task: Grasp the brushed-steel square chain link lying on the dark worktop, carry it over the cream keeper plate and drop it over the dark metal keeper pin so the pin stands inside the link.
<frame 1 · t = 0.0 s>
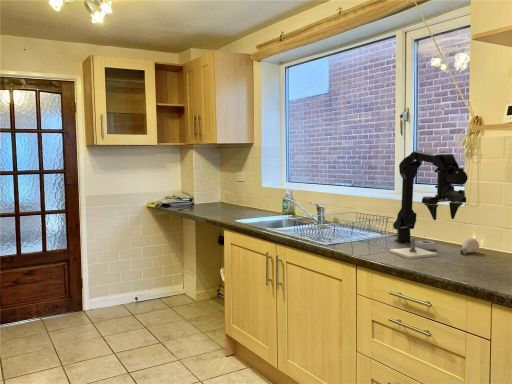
hand: (443, 219, 199), 15 cm above the countertop, fingers open, 9 cm apart
keeper plate: (412, 253, 200), on the countertop
light bulb: (467, 253, 200), on the countertop
link: (425, 248, 210), on the countertop
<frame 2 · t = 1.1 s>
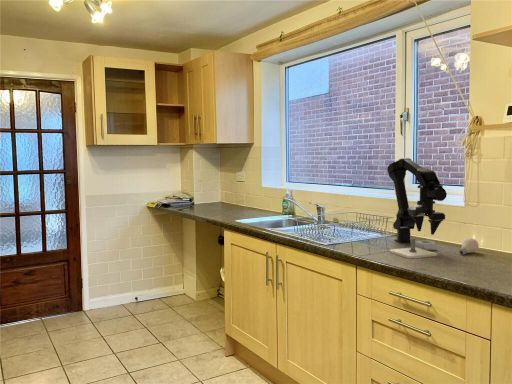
hand: (425, 233, 209), 7 cm above the countertop, fingers open, 9 cm apart
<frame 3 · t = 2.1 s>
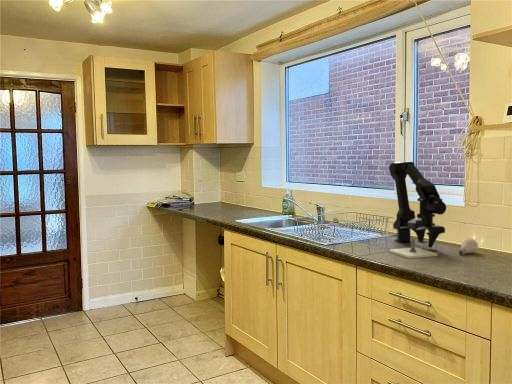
hand: (425, 245, 210), 1 cm above the countertop, fingers closed on link, 6 cm apart
link: (425, 248, 210), on the countertop, touching gripper
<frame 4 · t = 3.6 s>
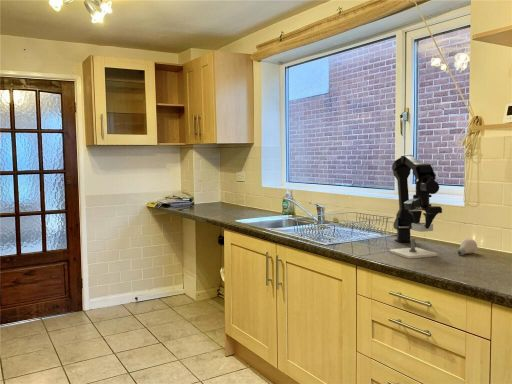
hand: (422, 227, 205), 10 cm above the countertop, fingers closed on link, 6 cm apart
link: (422, 230, 205), point 9 cm above the countertop, touching gripper
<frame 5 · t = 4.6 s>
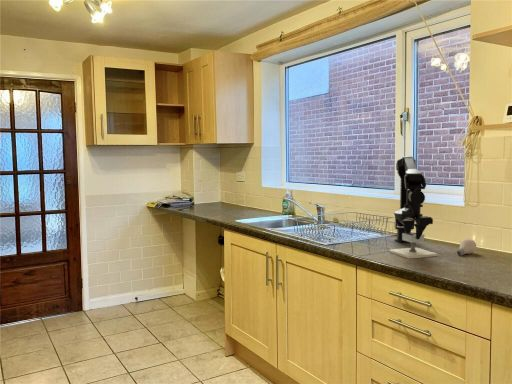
hand: (413, 237, 199), 7 cm above the countertop, fingers closed on link, 6 cm apart
link: (413, 240, 199), point 6 cm above the countertop, touching gripper
when the fingers open (5 cm above the countertop, at t = 5.3 s): link drops 3 cm, resting on keeper plate.
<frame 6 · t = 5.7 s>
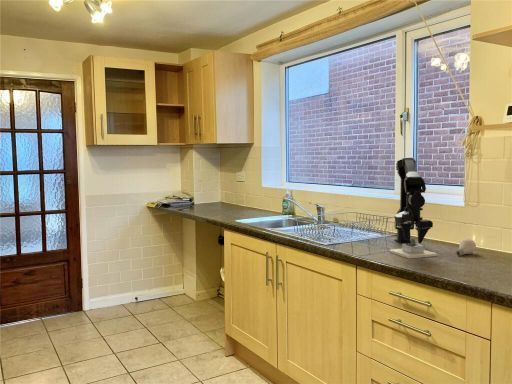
hand: (412, 241, 199), 5 cm above the countertop, fingers open, 9 cm apart
link: (412, 251, 200), point 1 cm above the countertop, touching keeper plate
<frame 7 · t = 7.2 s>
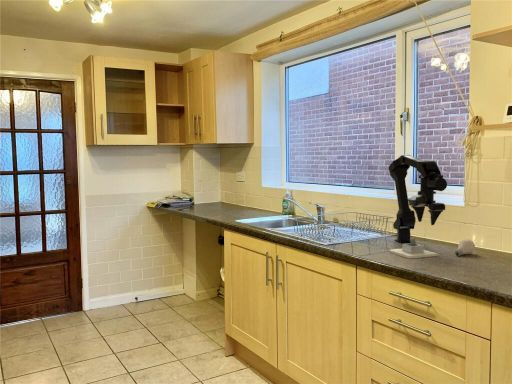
hand: (426, 223, 208), 12 cm above the countertop, fingers open, 9 cm apart
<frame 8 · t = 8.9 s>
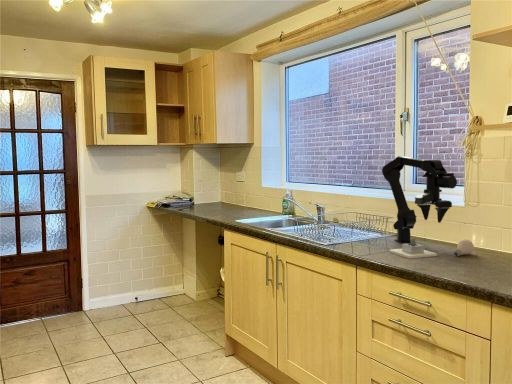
hand: (432, 221, 212), 12 cm above the countertop, fingers open, 9 cm apart
at the end: link 0.1 cm off-centre on the keeper plate, point 1.0 cm above the keeper plate's base; the gripper is holding nothing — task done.
